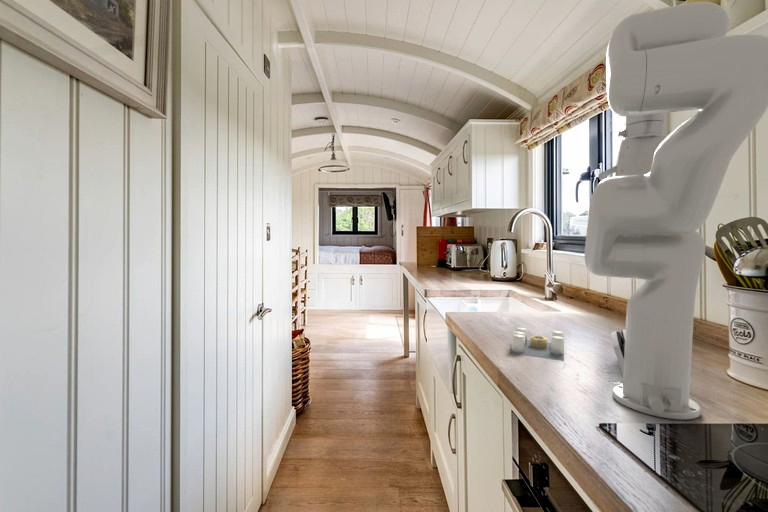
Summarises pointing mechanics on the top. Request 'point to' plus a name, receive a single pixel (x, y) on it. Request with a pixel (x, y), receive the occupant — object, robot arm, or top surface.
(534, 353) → the mat
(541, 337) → the nut
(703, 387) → the top surface
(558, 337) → the spacers
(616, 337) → the hinge
